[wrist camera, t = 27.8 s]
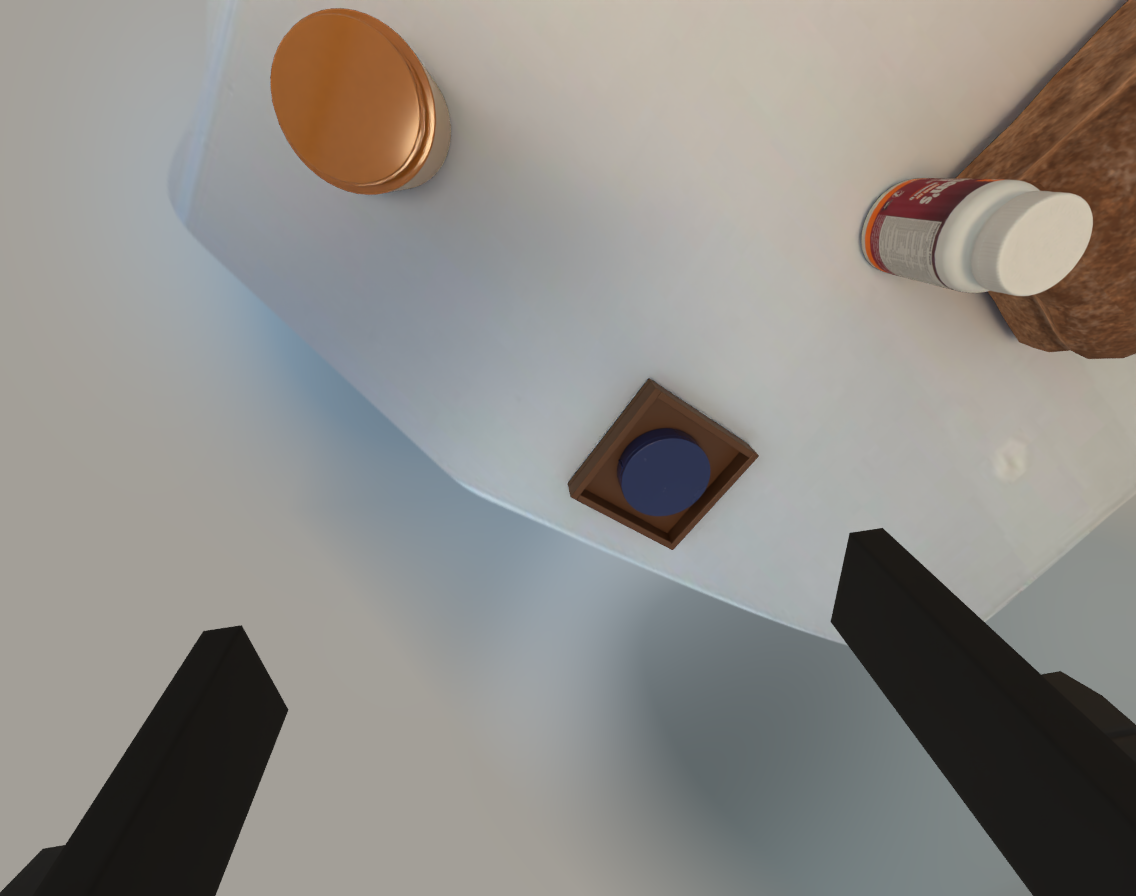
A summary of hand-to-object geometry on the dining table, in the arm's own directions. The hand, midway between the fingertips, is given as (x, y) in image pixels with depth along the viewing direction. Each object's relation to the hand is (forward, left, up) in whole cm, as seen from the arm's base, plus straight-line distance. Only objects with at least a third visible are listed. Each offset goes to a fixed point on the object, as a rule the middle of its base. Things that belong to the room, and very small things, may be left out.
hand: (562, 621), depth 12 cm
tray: (+10, -14, -29) cm, 33 cm away
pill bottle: (+28, +3, -29) cm, 40 cm away
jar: (-6, +12, -29) cm, 32 cm away
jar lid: (+10, -14, -27) cm, 32 cm away
